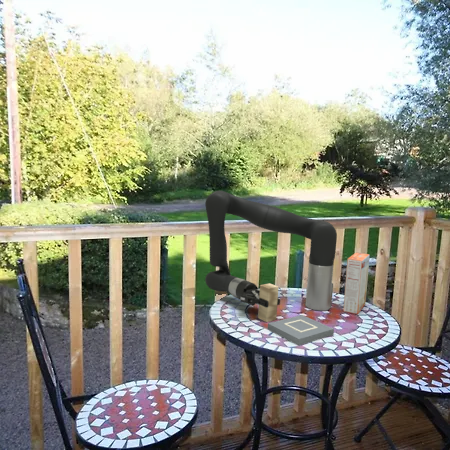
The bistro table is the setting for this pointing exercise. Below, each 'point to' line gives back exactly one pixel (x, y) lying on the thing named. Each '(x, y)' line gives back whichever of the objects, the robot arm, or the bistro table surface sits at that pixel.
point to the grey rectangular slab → (300, 329)
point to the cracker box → (356, 282)
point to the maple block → (271, 295)
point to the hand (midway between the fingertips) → (273, 303)
